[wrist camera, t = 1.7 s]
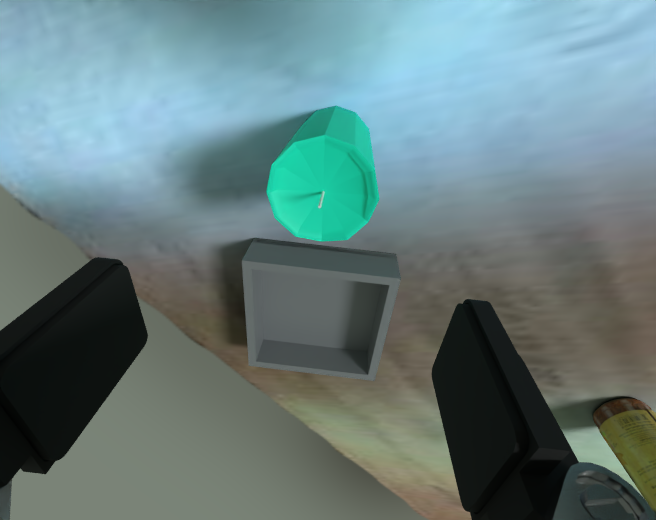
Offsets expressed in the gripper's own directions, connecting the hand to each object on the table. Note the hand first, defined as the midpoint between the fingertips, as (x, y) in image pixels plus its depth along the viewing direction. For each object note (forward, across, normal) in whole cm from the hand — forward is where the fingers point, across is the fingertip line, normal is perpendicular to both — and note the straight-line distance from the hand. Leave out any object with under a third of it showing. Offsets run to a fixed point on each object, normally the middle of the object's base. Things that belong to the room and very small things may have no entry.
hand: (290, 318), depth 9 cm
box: (+20, 0, +16) cm, 25 cm away
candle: (+20, 0, 0) cm, 20 cm away
